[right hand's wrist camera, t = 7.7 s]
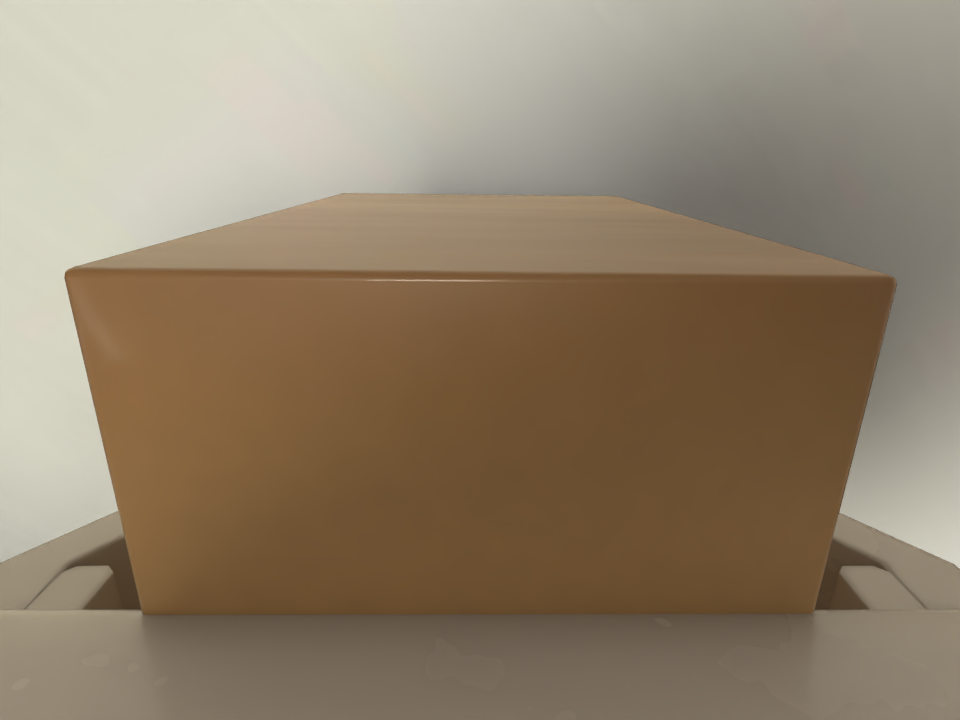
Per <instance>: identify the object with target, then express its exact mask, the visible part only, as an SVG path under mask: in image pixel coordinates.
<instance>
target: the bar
mask: <svg viewBox="0 0 960 720" xmlns="http://www.w3.org/2000/svg"><path fill="white" fill-rule="evenodd" d="M65 282H66V286H67V291H68V295H69V299H70V304H71V308H72V312H73V316H74V321H75V325H76V329H77V334H78V338H79V342H80V347H81V351H82V355H83V360H84V364H85V368H86V373H87V377H88V381H89V385H90V390H91V394H92V398H93V403H94V407H95V411H96V416H97V420H98V424H99V429H100V433H101V437H102V442H103V446H104V450H105V454H106V459H107V463H108V467H109V472H110V476H111V480H112V485H113V489H114V493H115V498H116V502H117V506H118V511H119V515H120V519H121V523H122V528H123V532H124V536H125V541H126V545H127V549H128V554H129V558H130V562H131V567H132V571H133V575H134V580H135V584H136V588H137V592H138V597H139V601H140V605H141V610H142V614H146V615H288V614H810V613H814V609H815V605H816V601H817V597H818V593H819V590H820V586H821V582H822V578H823V574H824V570H825V566H826V562H827V558H828V554H829V550H830V546H831V542H832V538H833V534H834V530H835V526H836V522H837V519H838V515H839V511H840V507H841V503H842V499H843V495H844V491H845V487H846V483H847V479H848V475H849V471H850V467H851V463H852V459H853V455H854V451H855V448H856V444H857V440H858V436H859V432H860V428H861V424H862V420H863V416H864V412H865V408H866V404H867V400H868V396H869V392H870V388H871V384H872V381H873V377H874V373H875V369H876V365H877V361H878V357H879V353H880V349H881V345H882V341H883V337H884V333H885V329H886V325H887V321H888V317H889V313H890V310H891V306H892V302H893V298H894V294H895V290H896V286H897V284H896V279H895V278H894V277H892V276H890V275H888V274H884V273H881V272H877V271H874V270H870V269H867V268H863V267H860V266H856V265H853V264H850V263H846V262H843V261H839V260H836V259H832V258H829V257H825V256H822V255H818V254H815V253H811V252H808V251H804V250H801V249H798V248H794V247H791V246H787V245H784V244H780V243H777V242H773V241H770V240H766V239H763V238H759V237H756V236H753V235H749V234H746V233H742V232H739V231H735V230H732V229H728V228H725V227H721V226H718V225H714V224H711V223H707V222H704V221H701V220H697V219H694V218H690V217H687V216H683V215H680V214H676V213H673V212H669V211H666V210H662V209H659V208H656V207H652V206H649V205H645V204H642V203H638V202H635V201H631V200H628V199H624V198H621V197H617V196H571V195H471V194H371V193H342V194H339V195H335V196H331V197H328V198H324V199H320V200H317V201H313V202H309V203H306V204H302V205H298V206H295V207H291V208H287V209H284V210H280V211H276V212H273V213H269V214H265V215H262V216H258V217H255V218H251V219H247V220H244V221H240V222H236V223H233V224H229V225H225V226H222V227H218V228H214V229H211V230H207V231H203V232H200V233H196V234H192V235H189V236H185V237H182V238H178V239H174V240H171V241H167V242H163V243H160V244H156V245H152V246H149V247H145V248H141V249H138V250H134V251H130V252H127V253H123V254H119V255H116V256H112V257H109V258H105V259H101V260H98V261H94V262H90V263H87V264H83V265H79V266H76V267H73V268H70V269H68V270H67V271H66V272H65Z"/></svg>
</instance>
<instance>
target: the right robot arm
mask: <svg viewBox="0 0 960 720" xmlns="http://www.w3.org/2000/svg"><path fill="white" fill-rule="evenodd" d="M0 720H960V569H959V568H958V567H957V566H956V565H954V564H952V563H950V562H948V561H946V560H943V559H941V558H939V557H937V556H934V555H932V554H930V553H928V552H926V551H923V550H921V549H919V548H917V547H914V546H912V545H910V544H908V543H905V542H903V541H901V540H899V539H896V538H894V537H892V536H890V535H888V534H885V533H883V532H881V531H879V530H876V529H874V528H872V527H870V526H867V525H865V524H863V523H861V522H859V521H856V520H854V519H852V518H850V517H847V516H845V515H843V514H841V513H839V515H838V519H837V522H836V526H835V530H834V534H833V538H832V542H831V546H830V550H829V554H828V558H827V562H826V566H825V570H824V574H823V578H822V582H821V586H820V590H819V593H818V597H817V601H816V605H815V609H814V613H810V614H288V615H146V614H142V610H141V605H140V601H139V597H138V592H137V588H136V584H135V580H134V575H133V571H132V567H131V562H130V558H129V554H128V549H127V545H126V541H125V536H124V532H123V528H122V523H121V519H120V515H119V511H117V512H115V513H112V514H110V515H108V516H106V517H103V518H101V519H99V520H97V521H94V522H92V523H90V524H87V525H85V526H83V527H81V528H78V529H76V530H74V531H72V532H69V533H67V534H65V535H63V536H60V537H58V538H56V539H54V540H51V541H49V542H47V543H44V544H42V545H40V546H38V547H35V548H33V549H31V550H29V551H26V552H24V553H22V554H20V555H17V556H15V557H13V558H11V559H8V560H6V561H4V562H1V563H0Z"/></svg>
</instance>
